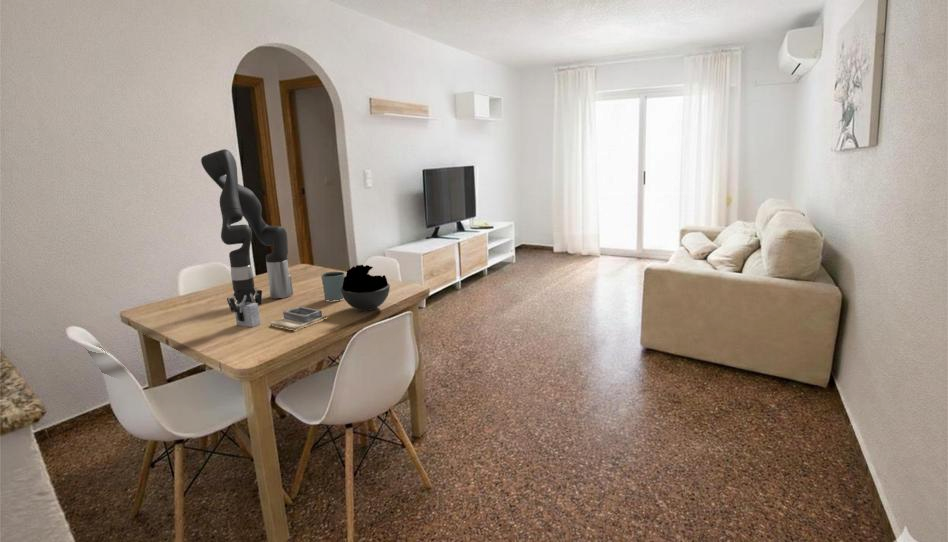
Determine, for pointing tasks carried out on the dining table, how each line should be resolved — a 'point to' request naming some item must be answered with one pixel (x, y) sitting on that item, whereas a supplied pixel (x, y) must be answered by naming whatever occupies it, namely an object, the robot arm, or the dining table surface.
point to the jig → (298, 318)
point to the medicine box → (249, 315)
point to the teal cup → (333, 285)
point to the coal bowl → (364, 288)
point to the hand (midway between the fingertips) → (248, 318)
